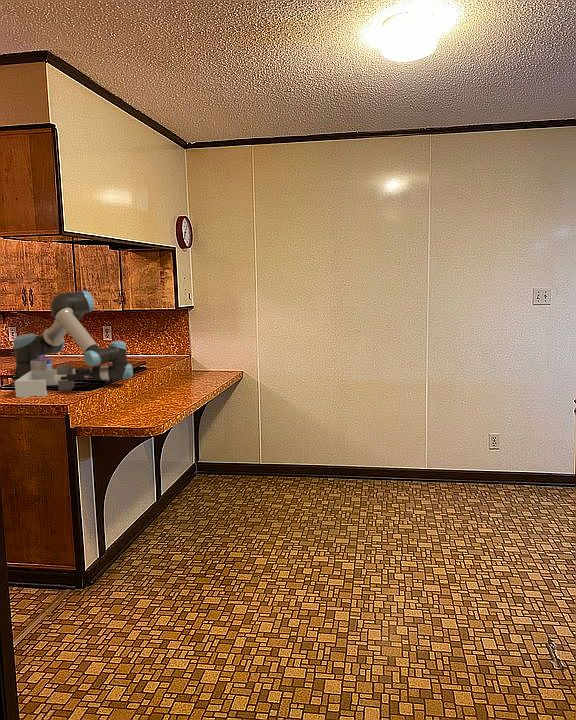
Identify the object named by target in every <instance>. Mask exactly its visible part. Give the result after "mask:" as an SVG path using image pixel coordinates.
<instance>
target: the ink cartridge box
mask: <svg viewBox="0 0 576 720" xmlns="http://www.w3.org/2000/svg"><path fill="white" fill-rule="evenodd" d="M45 357H46V355H39V356H38V359H34V360H31V361H30V363H31V371H35V370H54V368H53V360H52V358H45Z"/></svg>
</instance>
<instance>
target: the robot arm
mask: <svg viewBox="0 0 576 720" xmlns="http://www.w3.org/2000/svg"><path fill="white" fill-rule="evenodd" d="M94 308H95V300H94V297H93V295H92V293H90V292H89V291H88V290H78V291H76V290H75V291H68V292H61V293H58V294H56V295H55V296H54V297H53V298H52V300H51V303H50V312H51V315H52V317H53V318H54V322H53V323H52V325H51V326H50V327H49V328H46V329H45V330H43V332H42V334H38V335H36V334H35V333H28V334H27V333H26V334H22V335H18V336H16V337H15V338H14V339H13V350H14V357H15V369H14V374H13V376H14V377H19V378H21V377H22V376H24V375H25V374H27V373H28V372H30V371H31V363H30V361H31V360H34V359H38V357H39V355H45V356H47V355H54V354H57V353H61V352H62V351H63V350H64V348H65V338H64V337H65V336H66V334H67V333H68V334H69V336H70V337H71V338H72V340H74V342H75V343H76V345H77V346H78V347H79V348H80V349H81V350H82V352H83V360H84V363H85V365H87V366H88V367H89V368H88V367H77V368H72V371H73V375H69V374H67V375H54V380H55V381H65V380H68V381H74V382H75V381H79V380H80V381H81V380H90V378H92V380H93V381H95V382H96V381H107V382H109V381H110V380H111V381H113V380H116V381H117V380H129V379H131V378H133V374H134V370H133V369H134V368H133V365H132V364H130V363H128V357H127V356H128V355H127V350H128V349H127V345H126V342H125V341H123V340H114V341H111V342H110V344H109V345H110V346H108V347H107V346H106V347H103V348H101V347H100V346H99V344H98V343H97V342H96V341H95V339H93V337H92V336H91V335H90V333H89V331H87V329H86V328H85V327H84V326H83V324H81V322H80V321H79V320H80V319H82V318H83V317H84V316H85V314H86V313H92V312H93V311H94ZM109 363H111V364H109ZM104 364H107V365H104ZM70 377H71V378H70ZM19 378H14V380H15V381H16V380H18V379H19Z"/></svg>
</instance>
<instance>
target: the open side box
mask: <svg viewBox="0 0 576 720" xmlns="http://www.w3.org/2000/svg"><path fill="white" fill-rule="evenodd" d="M54 375H57V369H56V368H55V369H53V370H35V371H30V372H28V373H27V374H25V375H24V376H22V377H21V378H19V379H18V380H16V379H15V381H14V389H15V397H19V398H31V397H30V396H38V397H47V396H48V393H47V386H58V381H55V380H54ZM28 396H29V397H28Z"/></svg>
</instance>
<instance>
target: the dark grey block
mask: <svg viewBox="0 0 576 720" xmlns="http://www.w3.org/2000/svg"><path fill="white" fill-rule="evenodd" d="M55 369H57V375H67V374H69V375H73V371H72V369H73V364H59V365H58V366H57V367H56V368H55ZM70 378H71V377H70ZM57 387H58V392H65V391H72V390H74V388H75V381H68V380H65V381H58V385H57Z"/></svg>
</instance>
